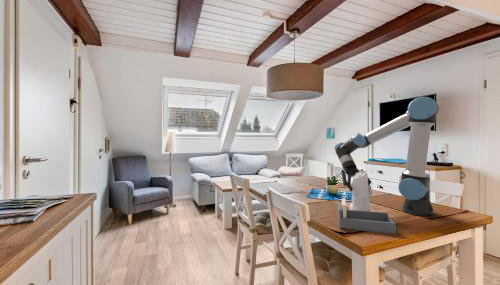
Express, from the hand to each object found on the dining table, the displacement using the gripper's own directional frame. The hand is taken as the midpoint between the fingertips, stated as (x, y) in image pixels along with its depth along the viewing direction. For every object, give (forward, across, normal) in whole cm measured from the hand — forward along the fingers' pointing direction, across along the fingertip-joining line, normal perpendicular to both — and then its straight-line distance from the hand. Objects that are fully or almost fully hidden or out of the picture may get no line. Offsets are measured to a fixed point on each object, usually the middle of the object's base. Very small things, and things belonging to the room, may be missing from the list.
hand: (363, 195), depth 130 cm
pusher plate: (+13, +16, -2) cm, 21 cm away
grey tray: (+17, +7, 0) cm, 18 cm away
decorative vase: (+6, 0, -11) cm, 12 cm away
